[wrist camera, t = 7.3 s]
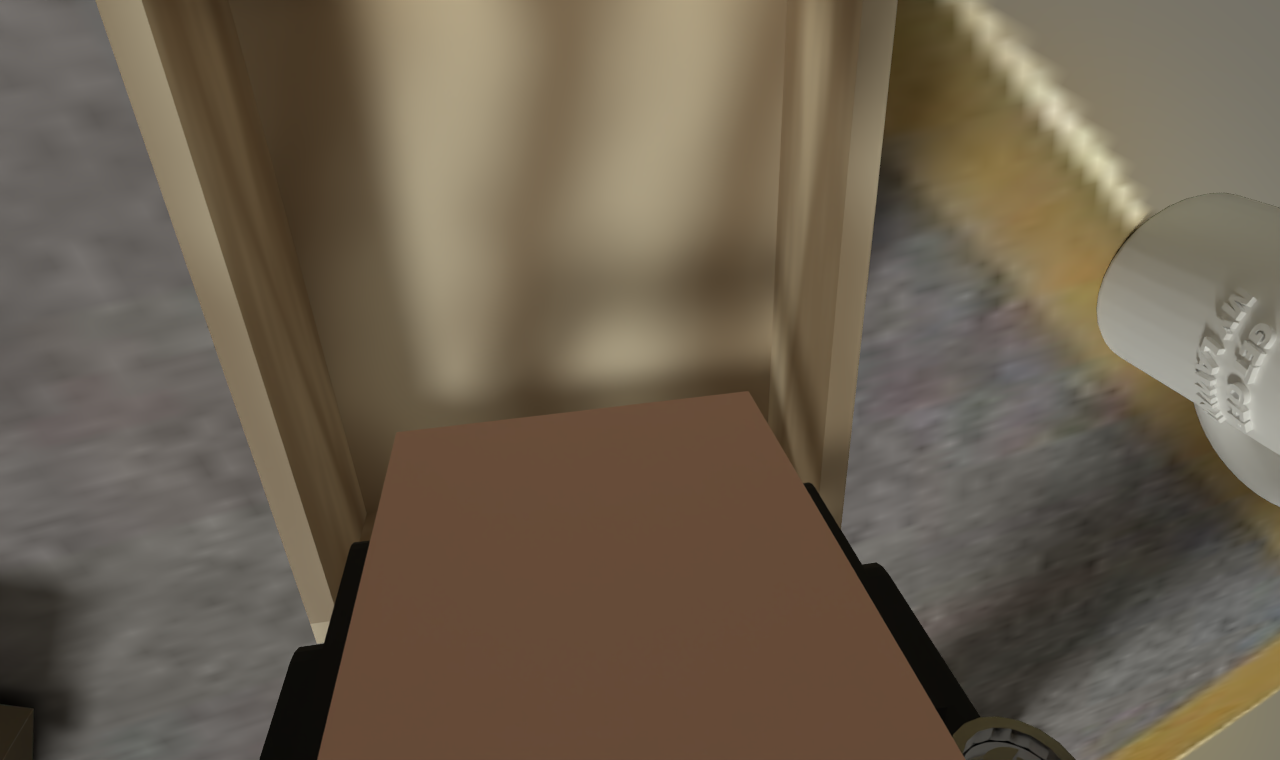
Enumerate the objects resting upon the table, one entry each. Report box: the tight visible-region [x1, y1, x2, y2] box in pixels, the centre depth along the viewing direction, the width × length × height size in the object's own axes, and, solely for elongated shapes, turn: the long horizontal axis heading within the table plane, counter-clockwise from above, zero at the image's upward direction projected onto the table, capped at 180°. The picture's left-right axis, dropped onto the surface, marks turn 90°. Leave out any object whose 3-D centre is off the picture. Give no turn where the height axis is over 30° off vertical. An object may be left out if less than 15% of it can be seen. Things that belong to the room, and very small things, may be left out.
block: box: [317, 391, 965, 760], centre depth 9 cm, size 5×5×7 cm
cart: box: [96, 0, 898, 644], centre depth 21 cm, size 16×19×15 cm
